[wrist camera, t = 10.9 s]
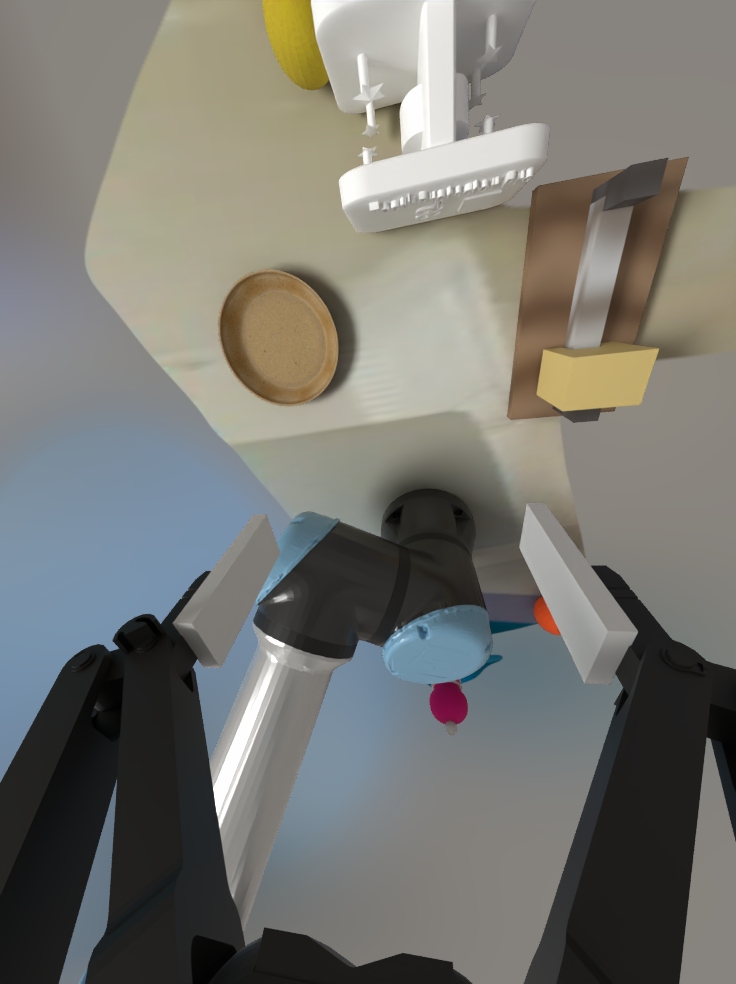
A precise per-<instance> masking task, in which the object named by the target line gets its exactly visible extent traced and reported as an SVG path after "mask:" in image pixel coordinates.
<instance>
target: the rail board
mask: <svg viewBox="0 0 736 984" xmlns="http://www.w3.org/2000/svg"><path fill="white" fill-rule="evenodd" d="M688 158H689V157H685V158H680V159H675V160H669V161H668V158H665V159H659V160H654V161H649V162H644V163H639V164H634V165H631V166H630V167H628V168H627V169H623V170H618V171H613V172H607V173H602V174H597V175H592V176H587V177H581V178H576V179H571V180H566V181H561V182H556V183H551V184H546V185H540V186H538V187H537V188H536V189H535V190H534V191H533V193H532V201H531V209H530V218H529V227H528V236H527V245H526V254H525V263H524V272H523V281H522V290H521V298H520V307H519V316H518V325H517V334H516V343H515V352H514V361H513V370H512V379H511V387H510V396H509V405H508V414H507V417H508V418H509V419H510V420H515V419H527V418H539V417H551V416H564V417H566V418H567V419H569V420H570V421H572V422H573V423H575V422H587V421H598V418H599V415H600V412H611V411H615V408H616V407H608V408H596V409H584V410H573V411H561V410H560V409H558V408H556V407H555V406H553V405H552V404H550V403H549V402H547V401H546V400H544V399H542V398H541V397H539V396H538V395H536V394H537V388H538V381H539V375H540V368H541V362H542V356H543V350H544V349H552V348H561V347H562V348H566V349H571V350H575V349H584V348H593V347H600V343H604V342H619V343H626V344H633V345H634V343H635V339H636V336H637V332H638V329H639V326H640V322H641V319H642V315H643V312H644V308H645V305H646V302H647V298H648V295H649V291H650V288H651V284H652V281H653V278H654V274H655V271H656V267H657V264H658V261H659V257H660V254H661V250H662V247H663V243H664V240H665V237H666V233H667V230H668V226H669V223H670V219H671V216H672V213H673V209H674V206H675V202H676V199H677V195H678V192H679V189H680V185H681V182H682V178H683V175H684V172H685V168H686V165H687V161H688Z"/></svg>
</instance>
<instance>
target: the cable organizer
mask: <svg viewBox="0 0 736 984" xmlns="http://www.w3.org/2000/svg"><path fill="white" fill-rule="evenodd" d="M535 2H536V0H311V7H312V14H313V21H314V28H315V35H316V40H317V43H318V46H319V50H320V53H321V56H322V59H323V62H324V65H325V68H326V71H327V74H328V77H329V80H330V83H331V86H332V89H333V92H334V95H335V99H336V102H337V105H338V107H339V109H340V110H341V111H343V112H345V113H350V114H358V113H365V112H367V121H368V125H367V130H366V131H365V132H363V133H362V134H365V135H368V137H369V139H370V138H371V137H372V136H373V135H374V134H381V133H380V132H378V131H377V128H378V126H379V125H376V122H375V111H374V110H375V109H379V108H383V107H386V106H390V105H393V104H397V103H400V102H402V104H401V107H400V126H401V143H402V155H400V156H396V157H392V158H388V159H384V160H380V161H376V162H372V156H378V154H376V153H375V152H374V151H375V149H376V147H377V146H376V147H374V148H371V149H368V148H365V147H363V153H361V154H360V155H358V157H363V161H364V165H361V166H359V167H356V168H354V169H352V170H350V171H348V172H347V173H345V174H344V175H343V176H342V177H341V178H340V180H339V186H340V193H341V200H342V207H343V210H344V212H345V213H346V215H347V217H348V218H349V220H350V222H351V223H352V225H353V227H354V228H355V230H356V231H357V232H360V233H374V232H380V231H385V230H390V229H394V228H399V227H404V226H408V225H413V224H418V223H422V222H427V221H432V220H436V219H441V218H446V217H450V216H455V215H460V214H464V213H469V212H474V211H478V210H483V209H487V208H491V207H494V206H497V205H500V204H502V203H504V202H507V201H508V200H510V199H511V198H513V197H514V195H515V194H516V193H517V192H518V191H519V190H520V189H521V188H522V187H523V186H524V185H525V184H526V183H527V182H528V181H529V180H531V179H532V178H533V175H534V174H535V173H536V172H537V171H538V170H539V169H540V168H541V167H542V166H543V165H544V164H545V162H546V161H547V152H548V143H549V133H550V127H549V126H548V125H547V124H544V123H529V124H523V125H519V126H515V127H511V128H507V129H503V130H499V131H495V132H493V126H495V124H494V120H495V119H496V118H497V117H498V116H499V115H496V116H494V117H490V116H489V115H486V116H485V118H484V120H483V121H482V122H480V123H479V124H477V125H475V126H476V127H480V131H479V132H481V131H482V130H483V135H479V136H475V137H472V138H467V139H466V137H467V135H468V132H469V110H470V109H471V108H473V107H474V106H475V105H482V103H481V99H482V97H483V96H484V95H485V94H483V95H480V80H481V79H484V78H486V77H489V76H491V75H493V74H494V73H496V72H498V71H499V70H500V69H502V68H503V67H504V66H505V65H506V64H507V63H508V62H509V61H510V60H511V58H512V56H513V54H514V51H515V49H516V46H517V44H518V42H519V39H520V37H521V35H522V33H523V30H524V28H525V25H526V23H527V20H528V18H529V16H530V13H531V11H532V9H533V6H534V4H535ZM471 82H472V85H471V87H472V88H471V100H470V101H468V83H471Z"/></svg>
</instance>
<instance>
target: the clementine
mask: <svg viewBox="0 0 736 984" xmlns="http://www.w3.org/2000/svg"><path fill="white" fill-rule="evenodd" d="M534 614H535V618H536V620H537V622H538V623H539V625H540V626H541V627H542V628H543V629H545V630H546V631H548V632H550V633H552V634H555V635H561V634H560V631H559V629H558V627H557V625H556V623H555V621H554V619H553V617H552V615H551V613H550V611H549V609H548V607H547V604H546V602H545V600H544V598H543V596H541V597H539V598H538V599H537V601H536V603H535V605H534Z"/></svg>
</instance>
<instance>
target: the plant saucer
mask: <svg viewBox="0 0 736 984" xmlns="http://www.w3.org/2000/svg"><path fill="white" fill-rule="evenodd" d="M218 334H219V341H220V345H221V349H222V352H223V355H224V358H225V360H226V362H227V364H228V366H229V368H230V370H231V371H232V373H233V374H234V376H235V377H236V378H237V379H238V381H239V382H240V383H241V384H242V385H243V386H244V387H245V388H246V389H247V390H248V391H250V392H251V393H252V394H254V395H255V396H257V397H258V398H260V399H262V400H264V401H266V402H269V403H271V404H275V405H279V406H297V405H302V404H305V403H307V402H309V401H311V400H313V399H315V398H316V397H317V396H319V395H320V394H321V393H322V392H323V391H324V390H325V389H326V388H327V386H328V385H329V383H330V382H331V380H332V378H333V376H334V373H335V370H336V367H337V362H338V353H339V345H338V336H337V331H336V327H335V324H334V321H333V319H332V316H331V314H330V312H329V310H328V308H327V306H326V305H325V303H324V302H323V300H322V299H321V298H320V296H319V295H318V294H317V293H316V292H315V291H314V290H313V289H312V288H311V287H310V286H309V285H308V284H306V283H305V282H304V281H302V280H301V279H299V278H298V277H295V276H294V275H291V274H289V273H287V272H284V271H279V270H272V269H266V270H258V271H254V272H251V273H249V274H247V275H245V276H243V277H242V278H240V279H239V280H238V281H236V282H235V283H234V284H233V285H232V287H231V288H230V289H229V291H228V292H227V294H226V296H225V298H224V300H223V303H222V305H221V309H220V313H219V319H218Z"/></svg>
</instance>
